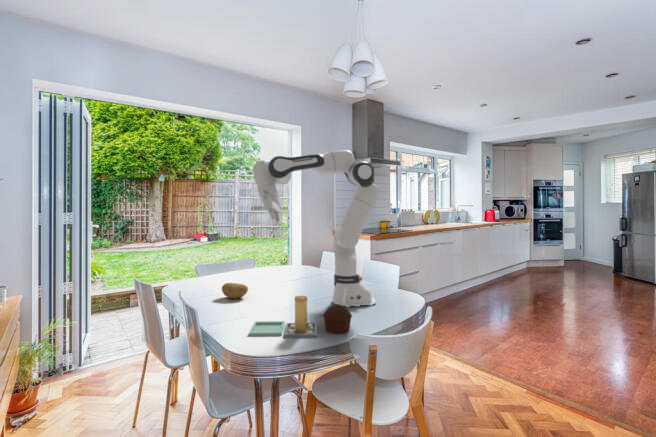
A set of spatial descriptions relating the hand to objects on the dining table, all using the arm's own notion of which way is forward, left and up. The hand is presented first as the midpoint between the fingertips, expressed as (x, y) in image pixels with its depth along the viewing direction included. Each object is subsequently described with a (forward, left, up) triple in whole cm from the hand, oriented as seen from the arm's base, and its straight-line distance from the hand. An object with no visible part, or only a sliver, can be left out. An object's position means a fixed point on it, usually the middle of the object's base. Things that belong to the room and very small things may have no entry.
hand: (276, 220), depth 154 cm
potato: (+24, -17, -42) cm, 51 cm away
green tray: (0, +30, -42) cm, 52 cm away
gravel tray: (-13, +32, -42) cm, 54 cm away
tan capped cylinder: (-13, +32, -41) cm, 54 cm away
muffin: (-27, +31, -42) cm, 59 cm away
